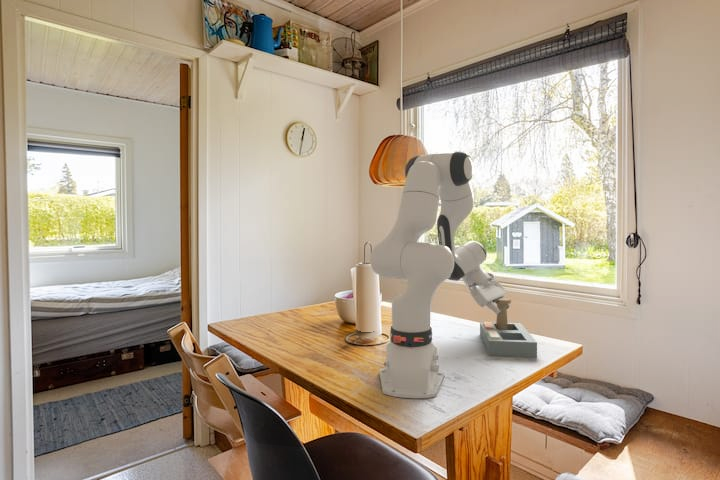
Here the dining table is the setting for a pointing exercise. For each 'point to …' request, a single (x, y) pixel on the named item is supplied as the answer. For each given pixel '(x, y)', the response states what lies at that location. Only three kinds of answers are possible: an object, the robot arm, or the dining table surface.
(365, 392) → the dining table surface
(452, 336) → the dining table surface
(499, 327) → the handle
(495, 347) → the socket board
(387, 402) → the dining table surface
